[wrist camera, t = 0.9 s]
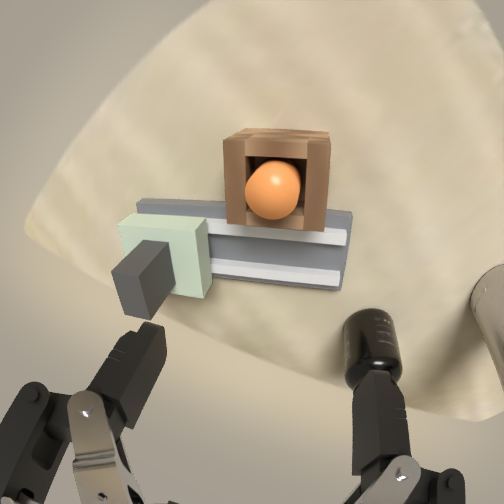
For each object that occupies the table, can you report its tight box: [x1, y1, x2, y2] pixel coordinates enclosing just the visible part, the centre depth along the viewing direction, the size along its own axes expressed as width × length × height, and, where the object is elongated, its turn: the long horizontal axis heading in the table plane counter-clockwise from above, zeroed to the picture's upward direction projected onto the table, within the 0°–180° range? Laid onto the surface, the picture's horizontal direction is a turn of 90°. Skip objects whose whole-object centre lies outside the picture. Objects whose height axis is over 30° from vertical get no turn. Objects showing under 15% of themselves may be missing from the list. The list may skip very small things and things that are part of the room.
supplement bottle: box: [344, 308, 402, 395], centre depth 32 cm, size 7×7×12 cm
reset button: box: [245, 157, 302, 220], centre depth 23 cm, size 4×4×4 cm
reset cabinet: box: [223, 128, 331, 232], centre depth 26 cm, size 8×7×8 cm
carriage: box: [111, 213, 212, 320], centre depth 29 cm, size 9×8×9 cm
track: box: [136, 199, 353, 290], centre depth 33 cm, size 24×9×3 cm, turn 91°
